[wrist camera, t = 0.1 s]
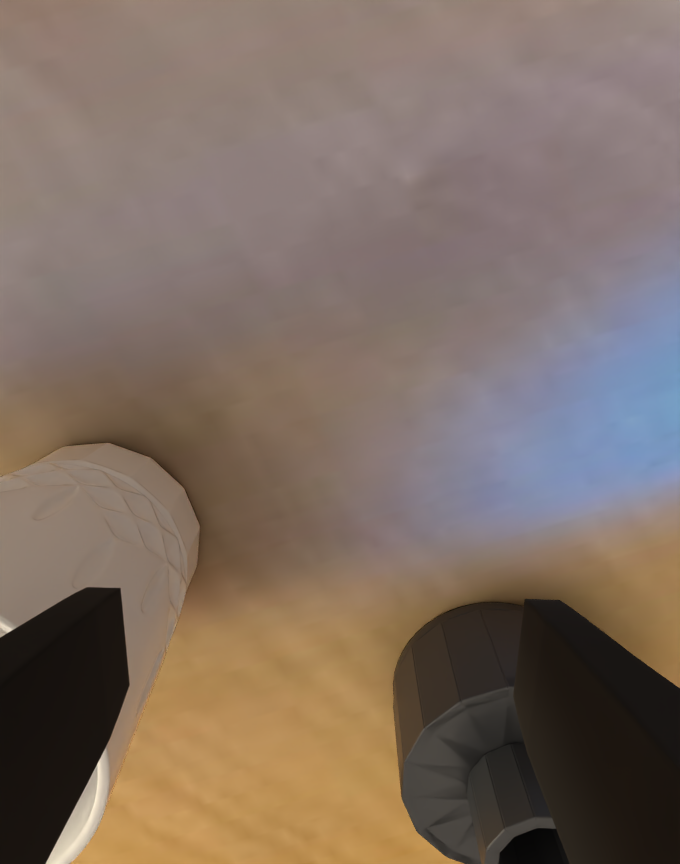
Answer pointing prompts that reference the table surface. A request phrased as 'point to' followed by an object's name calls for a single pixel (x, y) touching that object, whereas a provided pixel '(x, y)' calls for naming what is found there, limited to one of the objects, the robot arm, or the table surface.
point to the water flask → (469, 741)
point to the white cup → (99, 574)
